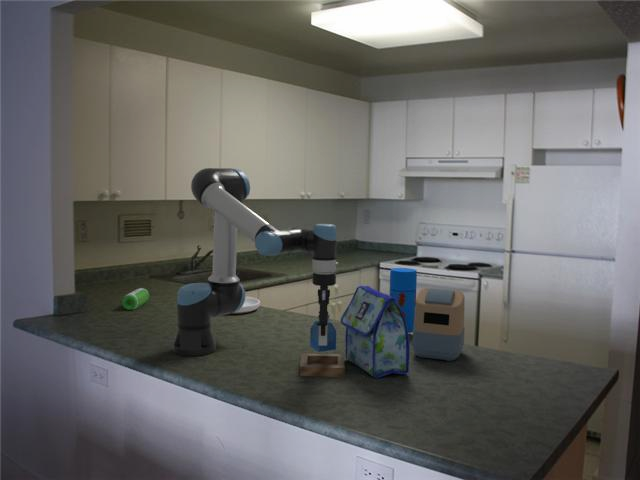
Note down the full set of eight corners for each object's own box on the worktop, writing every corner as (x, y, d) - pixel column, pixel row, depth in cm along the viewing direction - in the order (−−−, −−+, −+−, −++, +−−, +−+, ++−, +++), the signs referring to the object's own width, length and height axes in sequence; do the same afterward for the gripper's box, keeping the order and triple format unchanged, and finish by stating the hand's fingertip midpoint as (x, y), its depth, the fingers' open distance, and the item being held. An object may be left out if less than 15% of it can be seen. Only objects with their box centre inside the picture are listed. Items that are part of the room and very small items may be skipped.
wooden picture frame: (300, 375, 191) (300, 366, 191) (302, 362, 205) (302, 353, 205) (344, 377, 191) (344, 367, 191) (343, 363, 205) (343, 354, 205)
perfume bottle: (318, 351, 193) (319, 314, 192) (310, 346, 199) (310, 310, 197) (335, 349, 196) (336, 313, 195) (326, 344, 201) (327, 309, 200)
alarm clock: (409, 358, 211) (412, 293, 209) (419, 346, 227) (421, 285, 224) (458, 364, 206) (461, 297, 203) (464, 351, 221) (467, 288, 219)
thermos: (413, 333, 244) (416, 272, 241) (387, 332, 246) (389, 271, 243) (415, 327, 254) (417, 268, 252) (389, 325, 257) (391, 267, 254)
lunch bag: (337, 360, 208) (338, 285, 205) (379, 355, 214) (381, 282, 211) (367, 381, 187) (369, 298, 184) (413, 375, 194) (416, 295, 191)
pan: (231, 318, 264) (231, 304, 263) (168, 303, 291) (168, 290, 290) (271, 309, 283) (271, 296, 283) (209, 296, 311) (209, 283, 310)
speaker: (135, 302, 293) (135, 287, 292) (150, 302, 292) (150, 287, 291) (121, 310, 275) (120, 294, 274) (136, 311, 275) (136, 294, 274)
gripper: (336, 278, 184) (334, 350, 186) (335, 267, 205) (334, 332, 207) (311, 277, 184) (310, 350, 187) (313, 266, 205) (312, 332, 208)
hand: (323, 341), depth 197 cm, fingers closed on perfume bottle, 8 cm apart
